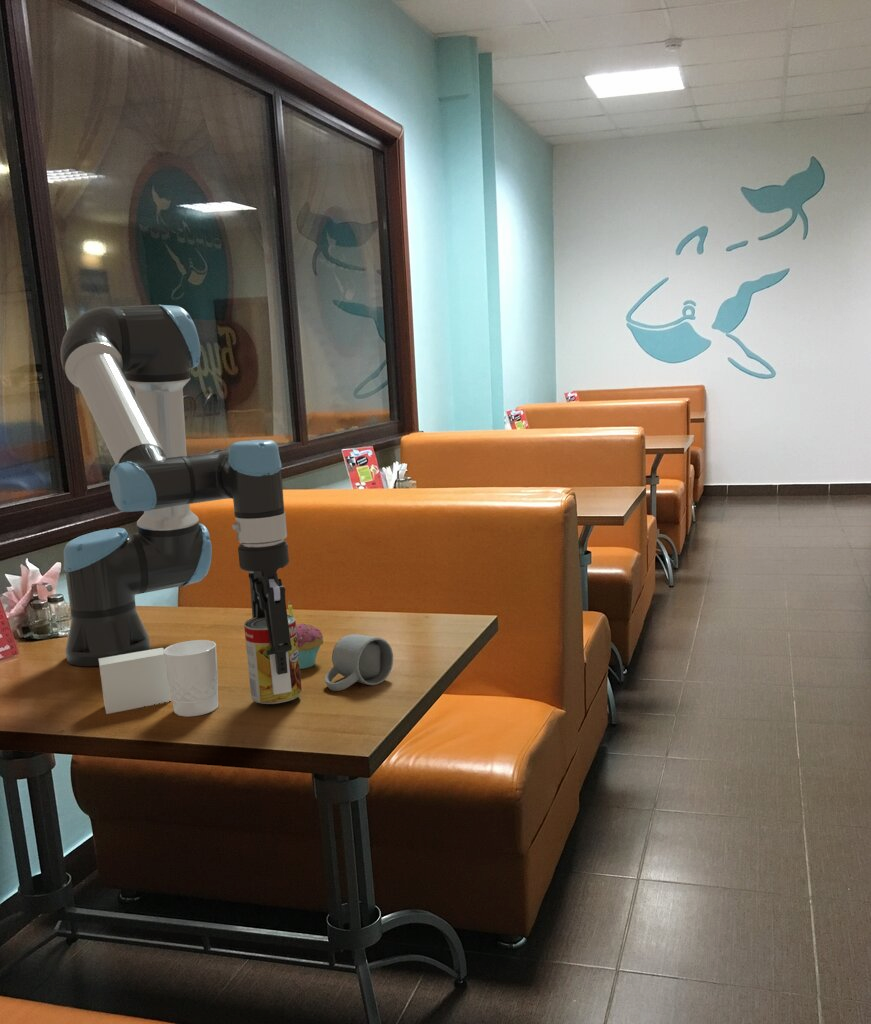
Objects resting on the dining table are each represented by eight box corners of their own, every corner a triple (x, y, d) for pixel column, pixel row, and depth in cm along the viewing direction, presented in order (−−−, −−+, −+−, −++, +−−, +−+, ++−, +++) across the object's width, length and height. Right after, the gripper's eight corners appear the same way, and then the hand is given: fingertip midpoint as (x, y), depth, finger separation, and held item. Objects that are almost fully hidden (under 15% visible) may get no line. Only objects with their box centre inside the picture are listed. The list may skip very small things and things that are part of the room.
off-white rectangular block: (104, 706, 152) (98, 658, 151) (168, 694, 156) (162, 647, 155) (106, 714, 148) (100, 665, 147) (171, 701, 152) (166, 653, 151)
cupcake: (310, 674, 161) (304, 605, 159) (267, 671, 164) (260, 604, 162) (333, 658, 169) (327, 592, 167) (291, 655, 172) (285, 591, 170)
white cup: (201, 696, 153) (195, 637, 152) (232, 705, 148) (226, 644, 147) (160, 712, 147) (153, 650, 146) (191, 722, 142) (183, 658, 141)
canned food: (310, 695, 148) (303, 621, 146) (263, 708, 143) (255, 631, 141) (289, 682, 154) (282, 611, 152) (243, 694, 150) (236, 621, 148)
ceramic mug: (364, 668, 162) (360, 625, 161) (396, 677, 156) (392, 633, 155) (314, 687, 155) (310, 642, 153) (346, 697, 149) (341, 650, 148)
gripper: (224, 534, 153) (238, 669, 157) (252, 557, 134) (267, 710, 138) (270, 528, 156) (282, 661, 159) (304, 549, 137) (317, 700, 141)
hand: (275, 684), depth 149 cm, fingers closed on canned food, 8 cm apart
